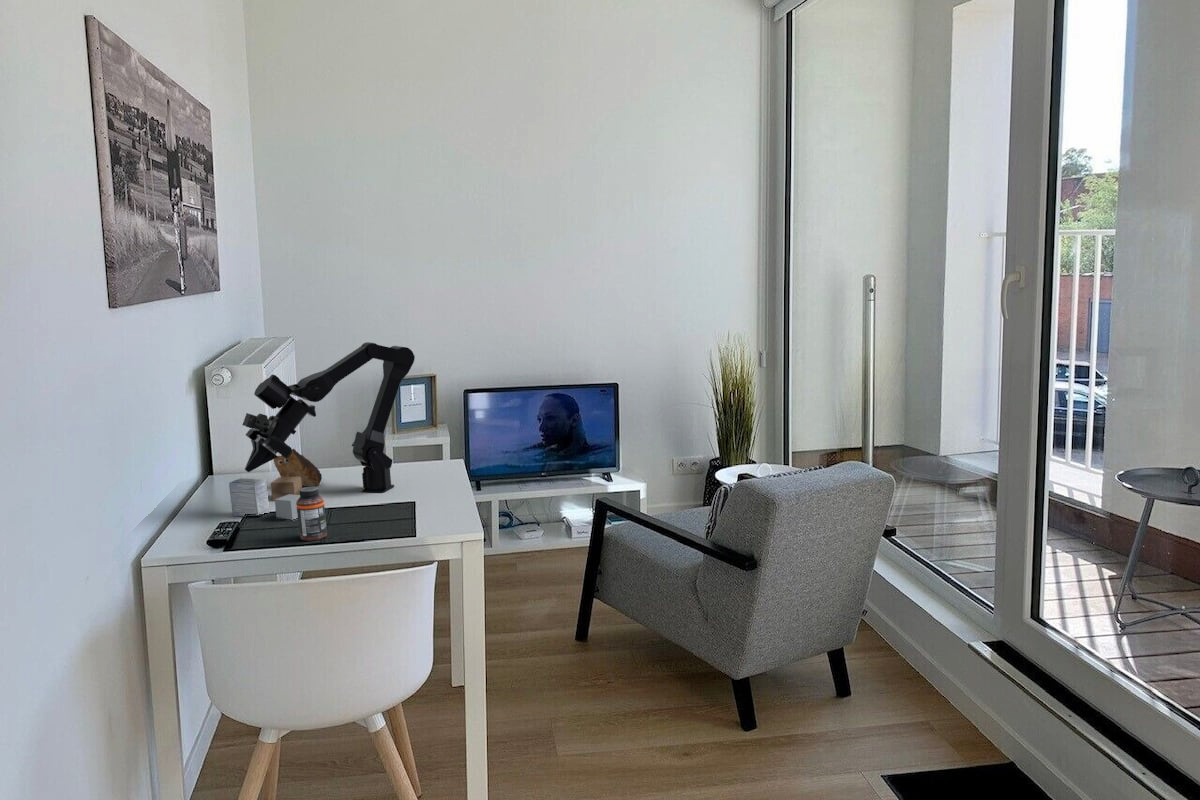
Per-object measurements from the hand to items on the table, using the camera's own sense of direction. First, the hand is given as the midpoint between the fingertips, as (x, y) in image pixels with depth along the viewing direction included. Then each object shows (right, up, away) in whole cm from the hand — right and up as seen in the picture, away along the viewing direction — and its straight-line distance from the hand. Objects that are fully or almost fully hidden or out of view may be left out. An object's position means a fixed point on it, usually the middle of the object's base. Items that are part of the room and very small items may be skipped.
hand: (246, 470), depth 240 cm
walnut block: (+5, -8, +17) cm, 20 cm away
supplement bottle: (+22, -14, -21) cm, 33 cm away
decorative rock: (+4, -7, +29) cm, 30 cm away
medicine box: (0, -11, +2) cm, 11 cm away
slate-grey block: (+12, -11, -2) cm, 16 cm away
